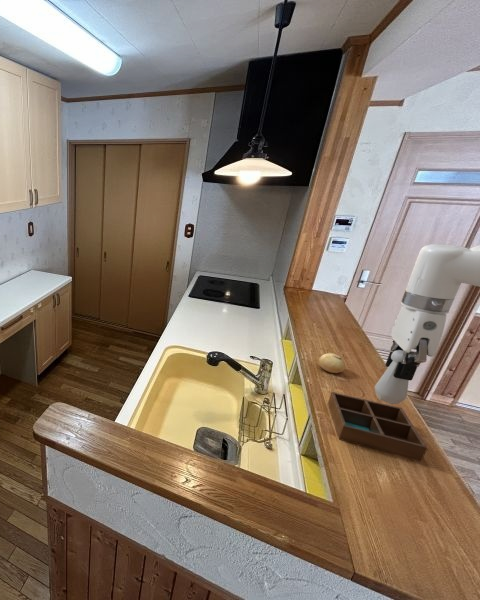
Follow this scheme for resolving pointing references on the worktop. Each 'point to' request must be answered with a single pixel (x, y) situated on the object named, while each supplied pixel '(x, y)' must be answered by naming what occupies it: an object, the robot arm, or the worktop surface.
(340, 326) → the worktop surface
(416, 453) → the grid
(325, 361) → the tan oval lump
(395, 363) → the salt shaker
